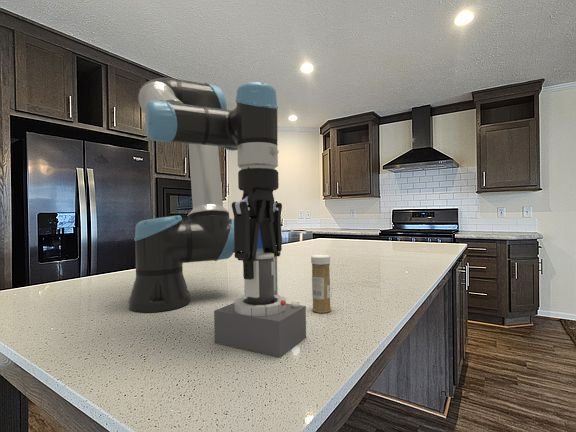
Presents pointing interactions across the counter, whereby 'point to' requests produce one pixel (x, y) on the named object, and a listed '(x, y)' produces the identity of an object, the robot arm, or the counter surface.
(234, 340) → the grey block with ring
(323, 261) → the sprinkles bottle
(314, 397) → the counter surface
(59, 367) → the counter surface
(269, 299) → the grey cylinder
